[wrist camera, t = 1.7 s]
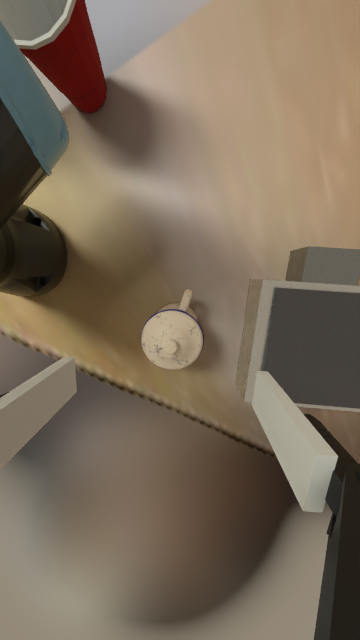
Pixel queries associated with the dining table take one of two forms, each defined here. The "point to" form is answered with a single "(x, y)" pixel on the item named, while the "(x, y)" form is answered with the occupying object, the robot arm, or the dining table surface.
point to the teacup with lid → (173, 335)
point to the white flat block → (306, 330)
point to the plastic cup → (59, 46)
